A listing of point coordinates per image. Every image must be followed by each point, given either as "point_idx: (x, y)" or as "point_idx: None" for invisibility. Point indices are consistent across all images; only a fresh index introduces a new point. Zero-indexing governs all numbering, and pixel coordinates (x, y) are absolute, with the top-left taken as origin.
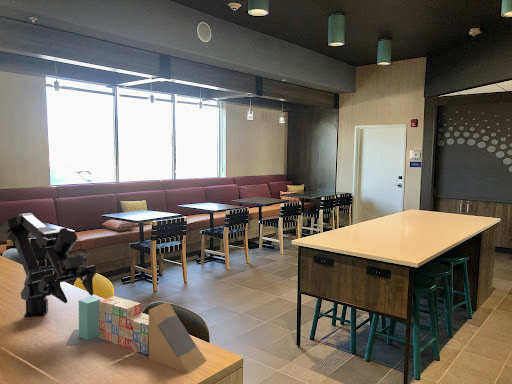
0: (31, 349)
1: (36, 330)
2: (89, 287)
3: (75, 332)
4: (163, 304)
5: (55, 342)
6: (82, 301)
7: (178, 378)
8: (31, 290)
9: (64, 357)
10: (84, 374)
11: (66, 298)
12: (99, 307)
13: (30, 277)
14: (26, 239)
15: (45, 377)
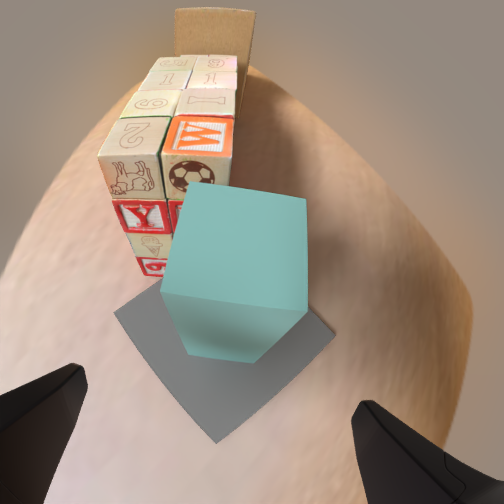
0: (401, 414)
1: None
2: (38, 417)
3: (233, 412)
4: (200, 8)
5: (330, 406)
6: (303, 258)
7: (264, 76)
8: None
9: (367, 276)
10: (366, 178)
11: (375, 415)
12: (228, 184)
13: None
14: None
15: (424, 235)
